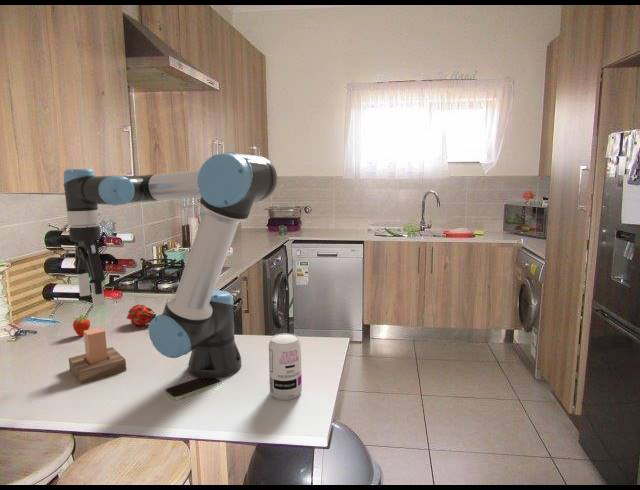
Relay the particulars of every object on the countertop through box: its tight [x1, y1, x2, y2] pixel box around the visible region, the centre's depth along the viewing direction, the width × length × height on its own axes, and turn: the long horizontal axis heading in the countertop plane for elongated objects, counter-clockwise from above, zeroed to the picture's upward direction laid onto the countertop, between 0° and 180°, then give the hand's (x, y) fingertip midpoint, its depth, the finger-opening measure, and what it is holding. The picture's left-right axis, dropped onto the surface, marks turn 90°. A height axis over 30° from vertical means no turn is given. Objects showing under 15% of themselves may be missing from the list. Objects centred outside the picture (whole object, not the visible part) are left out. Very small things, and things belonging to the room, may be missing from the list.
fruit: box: [72, 313, 91, 337], centre depth 153 cm, size 5×5×8 cm
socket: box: [68, 346, 127, 385], centre depth 127 cm, size 12×12×4 cm
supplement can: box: [268, 332, 303, 401], centre depth 112 cm, size 8×8×15 cm
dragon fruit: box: [126, 304, 157, 328], centre depth 164 cm, size 8×8×12 cm
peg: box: [83, 326, 108, 365], centre depth 126 cm, size 4×4×12 cm
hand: (91, 300), depth 123 cm, fingers open, 13 cm apart
